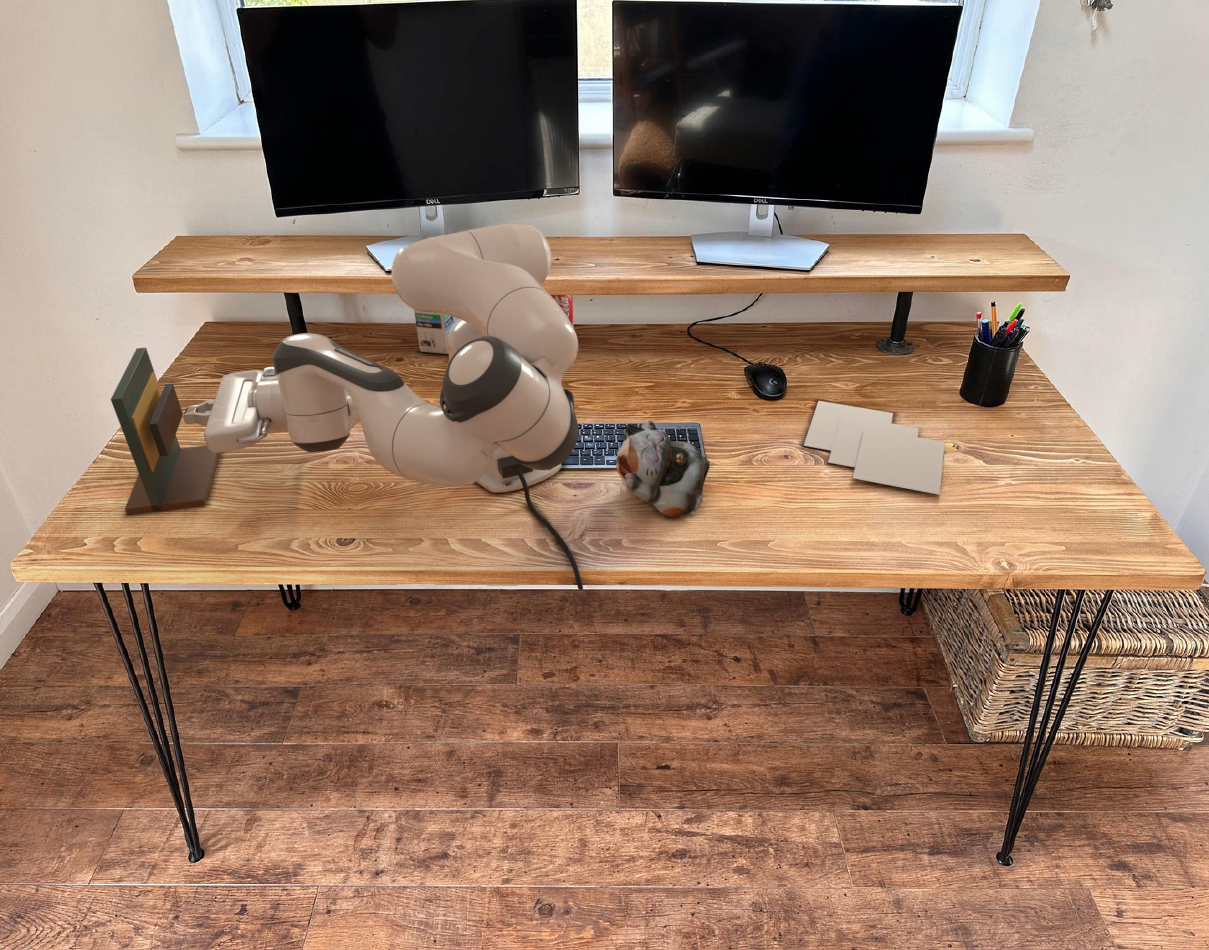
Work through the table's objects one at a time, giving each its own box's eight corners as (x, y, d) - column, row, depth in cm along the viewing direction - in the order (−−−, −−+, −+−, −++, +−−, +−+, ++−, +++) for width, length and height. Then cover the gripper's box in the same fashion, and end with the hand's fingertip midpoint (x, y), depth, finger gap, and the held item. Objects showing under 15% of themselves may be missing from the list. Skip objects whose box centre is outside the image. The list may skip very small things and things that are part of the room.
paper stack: (795, 470, 150) (795, 467, 150) (818, 400, 170) (818, 397, 169) (938, 497, 144) (939, 494, 143) (946, 422, 163) (946, 418, 162)
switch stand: (220, 449, 158) (187, 343, 146) (205, 505, 144) (167, 393, 132) (149, 457, 156) (110, 350, 144) (126, 515, 142) (81, 402, 130)
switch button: (183, 414, 150) (172, 383, 147) (168, 455, 140) (156, 423, 136) (175, 415, 150) (165, 384, 147) (160, 456, 140) (148, 424, 136)
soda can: (549, 347, 189) (547, 295, 182) (536, 334, 194) (533, 283, 188) (579, 340, 192) (577, 288, 185) (565, 327, 197) (563, 276, 190)
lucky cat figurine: (694, 527, 138) (654, 468, 130) (631, 530, 145) (589, 474, 137) (721, 456, 146) (684, 397, 138) (660, 462, 154) (622, 406, 146)
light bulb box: (448, 355, 187) (442, 307, 181) (418, 352, 188) (412, 305, 182) (465, 333, 195) (460, 287, 189) (436, 330, 196) (430, 285, 190)
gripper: (270, 456, 140) (178, 466, 138) (283, 393, 156) (201, 401, 154) (261, 422, 136) (166, 432, 134) (275, 361, 152) (191, 369, 150)
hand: (185, 415), depth 144 cm, fingers closed
